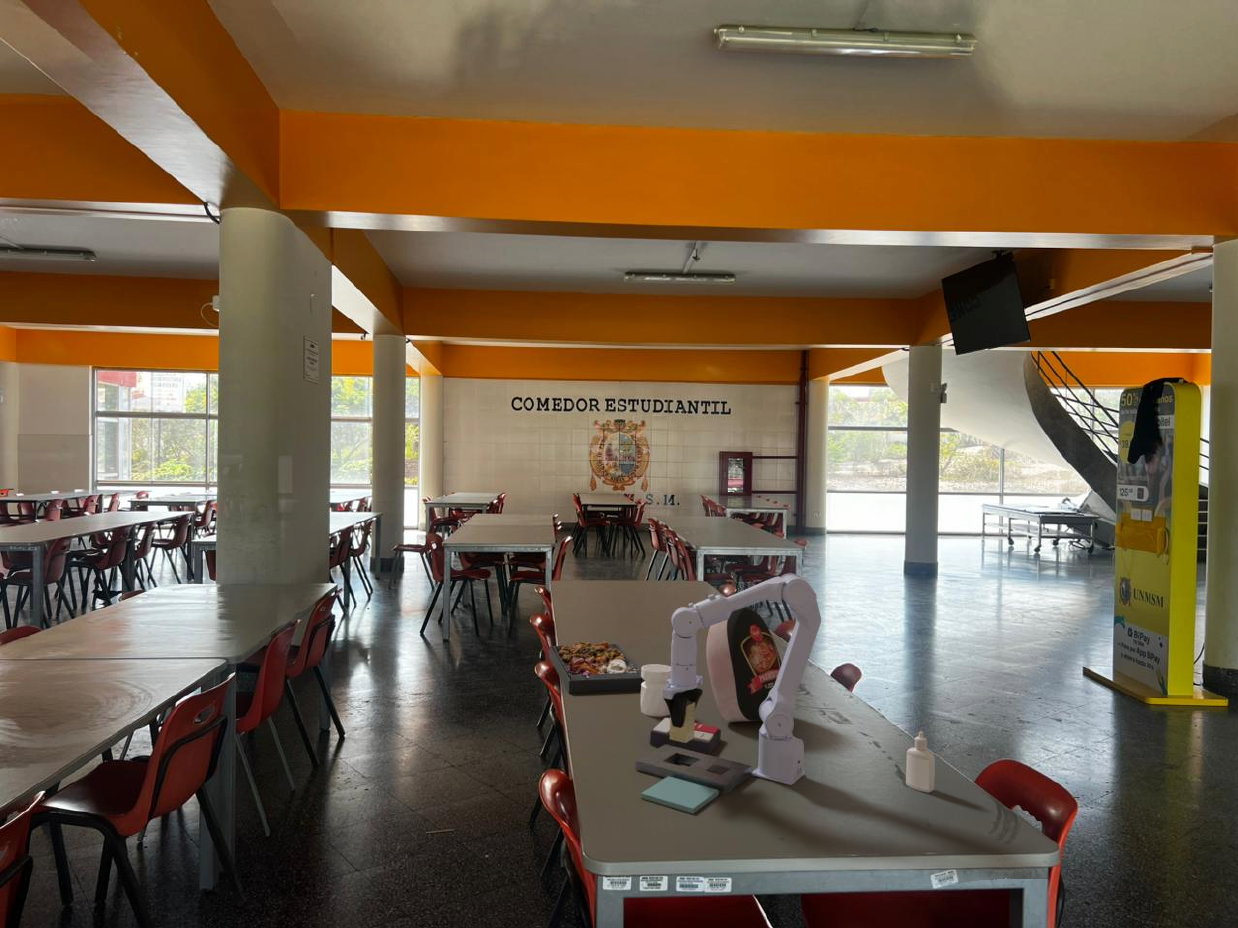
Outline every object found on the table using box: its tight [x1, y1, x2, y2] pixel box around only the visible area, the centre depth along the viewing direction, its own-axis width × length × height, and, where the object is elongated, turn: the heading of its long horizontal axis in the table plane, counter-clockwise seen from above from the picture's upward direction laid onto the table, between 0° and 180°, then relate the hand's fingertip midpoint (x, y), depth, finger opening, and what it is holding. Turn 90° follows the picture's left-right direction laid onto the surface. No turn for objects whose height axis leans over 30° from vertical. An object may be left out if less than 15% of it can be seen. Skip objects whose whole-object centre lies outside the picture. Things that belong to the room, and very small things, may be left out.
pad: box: [640, 776, 720, 815], centre depth 161 cm, size 12×11×1 cm
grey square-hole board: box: [635, 744, 753, 795], centre depth 174 cm, size 22×13×2 cm, turn 56°
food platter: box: [548, 640, 645, 695], centre depth 256 cm, size 45×25×10 cm, turn 12°
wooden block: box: [669, 701, 696, 743], centre depth 174 cm, size 4×4×8 cm
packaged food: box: [705, 606, 782, 723], centre depth 213 cm, size 22×20×30 cm
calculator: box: [649, 717, 722, 755], centre depth 193 cm, size 11×4×15 cm
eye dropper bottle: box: [905, 731, 936, 793], centre depth 168 cm, size 4×6×12 cm
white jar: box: [640, 663, 671, 717], centre depth 216 cm, size 9×9×12 cm
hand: (682, 723), depth 174 cm, fingers closed on wooden block, 4 cm apart
